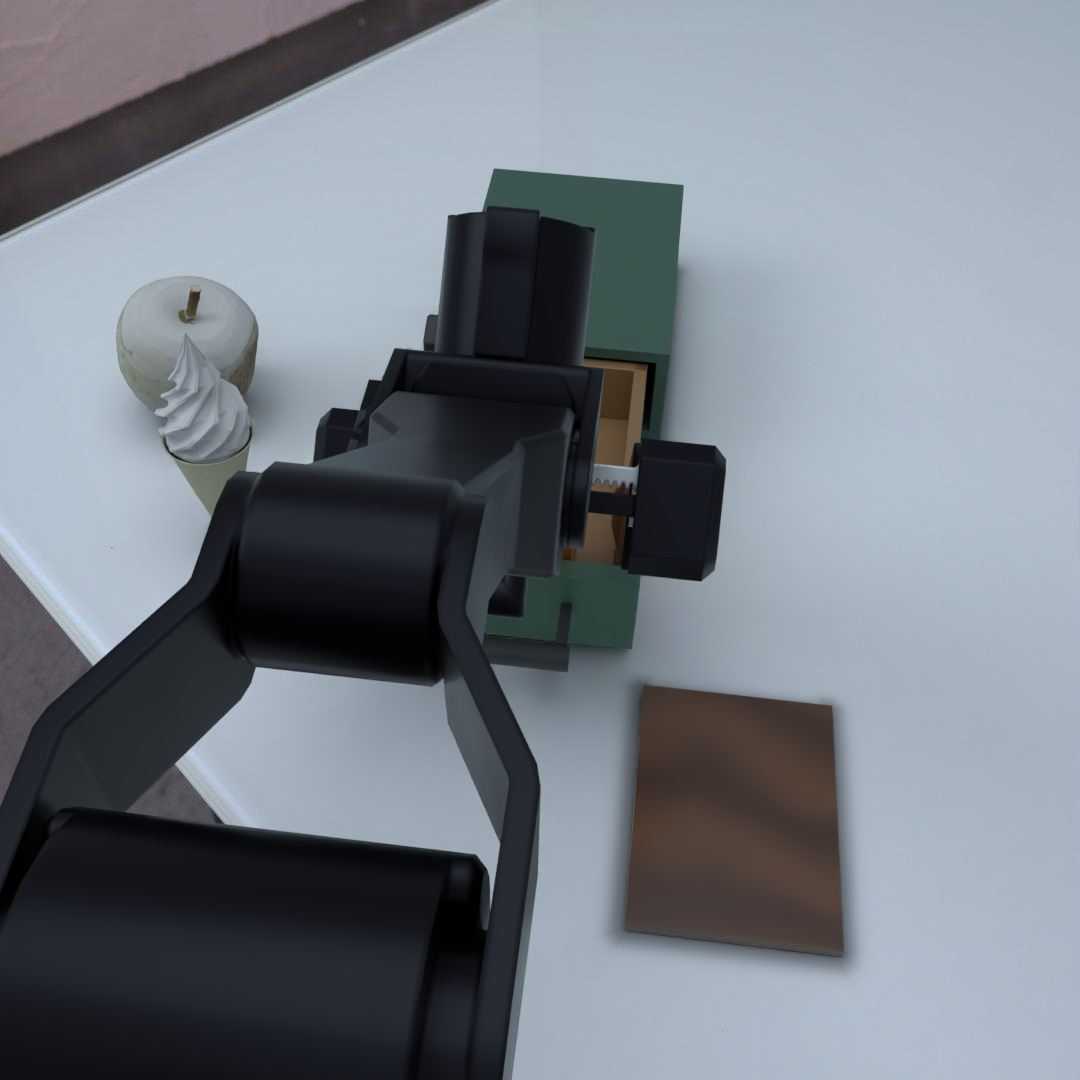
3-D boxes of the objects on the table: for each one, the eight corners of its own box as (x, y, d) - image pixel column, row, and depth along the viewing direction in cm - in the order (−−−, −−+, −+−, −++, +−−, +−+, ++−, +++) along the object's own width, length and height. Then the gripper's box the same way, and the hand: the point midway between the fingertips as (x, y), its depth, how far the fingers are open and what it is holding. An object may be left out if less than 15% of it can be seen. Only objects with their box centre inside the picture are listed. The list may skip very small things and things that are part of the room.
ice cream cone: (168, 552, 76) (115, 347, 66) (215, 497, 80) (172, 292, 69) (243, 578, 75) (202, 372, 64) (288, 520, 78) (255, 316, 68)
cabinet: (659, 442, 84) (670, 354, 79) (450, 421, 85) (448, 333, 80) (673, 269, 98) (684, 184, 93) (493, 252, 99) (493, 167, 94)
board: (841, 957, 60) (844, 951, 60) (623, 930, 61) (624, 924, 60) (830, 712, 70) (832, 705, 69) (642, 691, 70) (643, 684, 70)
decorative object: (141, 368, 88) (110, 240, 81) (273, 364, 89) (254, 237, 82) (124, 457, 82) (89, 327, 75) (266, 451, 83) (245, 322, 75)
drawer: (626, 712, 68) (634, 647, 64) (391, 685, 69) (385, 620, 65) (651, 427, 84) (659, 362, 80) (460, 408, 85) (458, 342, 81)
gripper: (754, 314, 52) (724, 360, 68) (295, 271, 54) (369, 326, 69) (724, 591, 53) (701, 574, 68) (269, 542, 54) (348, 536, 69)
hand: (529, 496), depth 69 cm, fingers open, 9 cm apart
